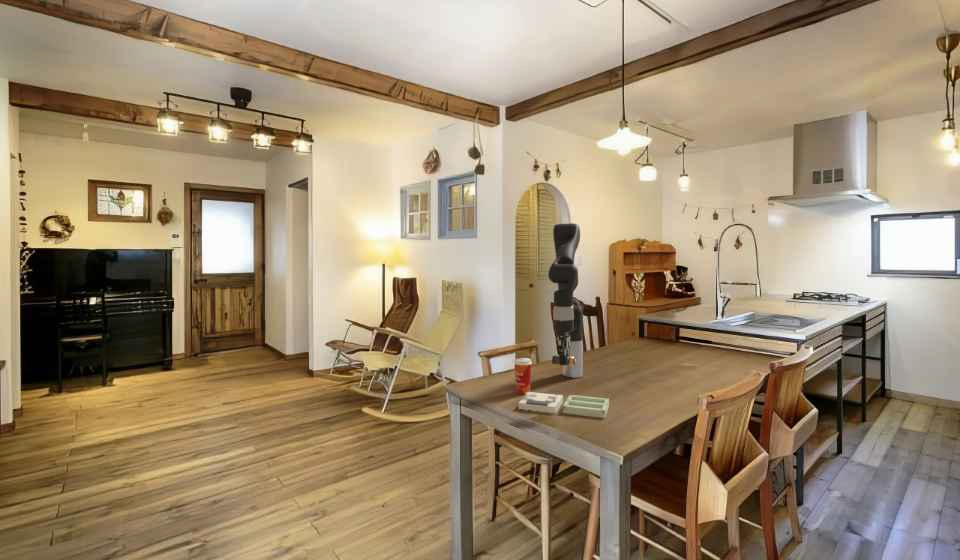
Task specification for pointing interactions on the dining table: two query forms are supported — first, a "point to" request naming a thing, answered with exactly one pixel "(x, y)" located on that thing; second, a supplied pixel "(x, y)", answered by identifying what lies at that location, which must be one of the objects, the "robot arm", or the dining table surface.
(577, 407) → the tray
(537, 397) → the white battery holder
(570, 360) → the cell
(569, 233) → the robot arm
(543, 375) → the dining table surface
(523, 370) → the paper cup
